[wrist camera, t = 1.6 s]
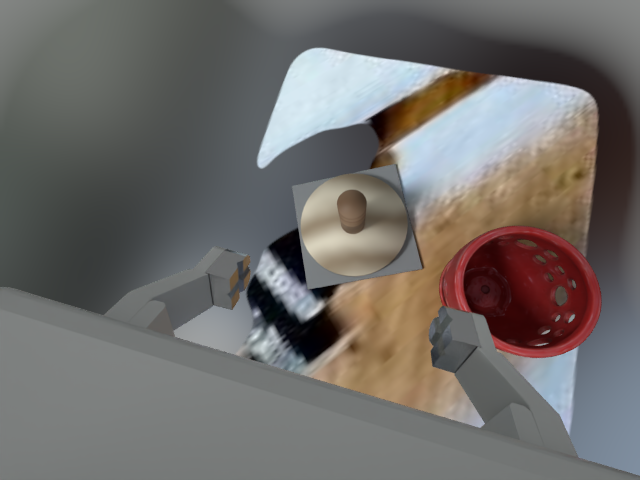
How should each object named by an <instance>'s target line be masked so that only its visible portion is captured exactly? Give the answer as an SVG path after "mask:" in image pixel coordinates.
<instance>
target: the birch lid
mask: <svg viewBox="0 0 640 480" xmlns="http://www.w3.org/2000/svg"><path fill="white" fill-rule="evenodd" d="M407 228H408V221H407V214H406V210H405V207H404V204H403V202H402V200H401V199H400V197H399V196H398V194H397V193H396V192H395V191H394V190H393V189H392V188H391V187H390V186H389V185H388V184H386V183H385V182H383V181H382V180H380V179H377V178H375V177H372V176H369V175H365V174H345V175H341V176H337V177H334V178H332V179H330V180H328V181H326V182H324V183H323V184H322V185H320V186H319V187H318V188H317V189H316V190H315V191H314V192H313V193H312V194H311V196H310V197H309V199H308V200H307V202H306V204H305V206H304V209H303V212H302V217H301V234H302V239H303V242H304V244H305V246H306V248H307V250H308V252H309V253H310V255H311V256H312V257H313V258H314V259H315V260H316V261H317V262H318V263H319V264H320V265H321V266H322V267H324V268H325V269H327V270H329V271H331V272H333V273H336V274H339V275H343V276H351V277H357V276H364V275H369V274H372V273H374V272H377V271H379V270H380V269H382V268H384V267H385V266H386V265H388V264H389V263H390V262H391V261H392V260H393V259H394V258H395V257H396V255H397V254H398V253H399V251H400V250H401V248H402V246H403V244H404V241H405V239H406V235H407Z"/></svg>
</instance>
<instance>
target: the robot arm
mask: <svg viewBox="0 0 640 480" xmlns="http://www.w3.org/2000/svg"><path fill="white" fill-rule="evenodd" d="M249 263H250V256H249V255H246V254H243V253H239V252H236V251H232V250H229V249H224V248H221V247H217V246H216V247H213V248H212V249H211V250H210V251H209V252H208V253H207V255H206V256H205V257H204V258H203V259H202V260H201V261H200V262H199V263H198V264H197V265H196V267H195V268H194V269H193V270H191V269H188V270H185V271H183V272H180V273H177V274H175V275H172V276H169V277H167V278H164V279H162V280H159V281H156V282H154V283H151V284H148V285H146V286H143V287H141V288H138V289H135V290H133V291H130V292H129V293H128V294H126V295H125V296H124V297H123V298H122V299H121V300H120V301H119V302H118V303H117V304H115V306H113V307H112V308H111V309H110V310H109V311H108V312H107V313H106V314H105V315H99V314H96V313H93V312H90V311H86V310H83V309H79V308H76V307H73V306H69V305H66V304H63V303H60V302H56V301H53V300H49V299H46V298H43V297H39V296H36V295H33V294H29V293H27V292H23V291H20V290H17V289H13V288H8V287H0V480H640V476H638V475H635V474H632V473H628V472H625V471H622V470H618V469H615V468H612V467H608V466H605V465H602V464H598V463H595V462H592V461H588V460H585V459H581V458H579V457H578V455H577V453H576V451H575V448H574V446H573V444H572V442H571V440H570V437H569V435H568V433H567V431H566V428H565V426H564V424H563V422H562V419H561V417H560V415H559V414H558V413H557V412H556V411H555V410H554V409H553V408H552V407H551V406H550V405H549V403H548V402H547V401H546V400H545V399H544V398H543V397H542V396H541V395H540V394H539V393H538V392H537V391H536V390H535V389H534V388H533V387H532V385H531V384H530V383H529V382H528V381H527V380H526V379H525V378H524V377H523V376H522V375H521V374H520V373H519V372H518V371H517V370H516V369H515V368H514V366H513V365H512V364H511V363H510V362H509V361H508V360H507V359H506V358H505V357H504V356H503V355H502V354H501V353H498V352H497V351H496V348H495V345H494V342H493V339H492V336H491V333H490V330H489V328H488V325H487V322H486V319H485V317H484V316H483V315H480V314H476V313H472V312H467V311H463V310H459V309H455V308H451V307H447V306H442V307H441V308H440V309H439V311H438V314H439V317H436V318H434V319H433V321H432V323H431V325H430V329H429V341H430V342H431V344H432V345H433V346H434V347H433V348H432V350H431V358H432V366H433V367H436V368H439V369H442V370H446V371H449V372H452V373H455V376H456V378H457V379H458V381H459V383H460V384H461V386H462V387H463V389H464V391H465V392H466V394H467V395H468V397H469V399H470V400H471V402H472V403H473V405H474V407H475V408H476V410H477V411H478V413H479V415H480V416H481V418H482V419H483V421H484V423H485V424H484V425H483V426H482V427H481V428H478V427H475V426H471V425H468V424H465V423H461V422H458V421H455V420H451V419H448V418H445V417H441V416H438V415H434V414H431V413H428V412H424V411H421V410H418V409H414V408H411V407H408V406H404V405H401V404H398V403H394V402H391V401H387V400H384V399H381V398H377V397H374V396H371V395H367V394H364V393H361V392H357V391H354V390H351V389H347V388H344V387H340V386H337V385H334V384H330V383H327V382H324V381H320V380H317V379H314V378H310V377H307V376H304V375H300V374H297V373H294V372H290V371H287V370H284V369H280V368H277V367H274V366H270V365H267V364H264V363H260V362H257V361H254V360H250V359H247V358H243V357H240V356H237V355H233V354H230V353H227V352H223V351H220V350H217V349H213V348H210V347H207V346H203V345H200V344H196V343H193V342H190V341H187V340H183V339H180V338H177V337H175V335H174V332H173V331H174V330H175V329H177V328H178V327H180V326H182V325H183V324H185V323H187V322H188V321H190V320H191V319H193V318H195V317H196V316H198V315H200V314H201V313H203V312H204V311H206V310H208V309H209V308H211V307H212V306H213V305H215V306H218V307H223V308H226V309H230V310H232V309H233V307H234V306H235V305H236V303H237V301H238V300H239V293H240V292H242V291H244V290H245V288H246V287H247V285H248V282H249V279H250V269H249V267H248V265H249Z"/></svg>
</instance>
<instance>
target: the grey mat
mask: <svg viewBox="0 0 640 480" xmlns="http://www.w3.org/2000/svg"><path fill="white" fill-rule="evenodd" d="M352 174H365V175H369V176H372V177H375V178H377V179H380V180H382V181H383V182H385V183H386V184H388V185H389V186H390V187H391V188H392V189H393V190H394V191H395V192H396V193H397V194H398V196H399V197H400V199H401V200H402V202H403V204H404V207H405V210H406V214H407V221H408V228H407V235H406V239H405V241H404V244H403V246H402V248H401V250H400V251H399V253H398V254H397V255H396V257H395V258H394V259H393V260H392V261H391V262H390V263H389V264H388V265H386V266H385V267H384V268H382V269H380V270H379V271H377V272H374V273H372V274H369V275H364V276H357V277H351V276H343V275H339V274H336V273H333V272H331V271H329V270H327V269H325V268H324V267H322V266H321V265H320V264H319V263H318V262H317V261H316V260H315V259H314V258H313V257H312V256H311V255H310V253H309V252H308V250H307V248H306V246H305V244H304V242H303V239H302V234H301V217H302V212H303V209H304V206H305V204H306V202H307V200H308V199H309V197H310V196H311V194H312V193H313V192H314V191H315V190H316V189H317V188H318V187H319V186H320V185H322V184H323V183H324V182H326V181H328V180H330V179H332V178H328V179H323V180H319V181H314V182H309V183H305V184H300V185H295V186H292V188H293V195H294V202H295V209H296V215H297V222H298V228H299V235H300V241H301V248H302V254H303V261H304V267H305V274H306V281H307V287H308V289H313V288H318V287H324V286H329V285H335V284H341V283H346V282H352V281H358V280H363V279H369V278H374V277H380V276H386V275H391V274H397V273H403V272H408V271H414V270H419V269H422V266H421V262H420V258H419V254H418V250H417V246H416V242H415V239H414V235H413V231H412V227H411V223H410V219H409V215H408V211H407V208H406V204H405V200H404V196H403V192H402V188H401V184H400V180H399V176H398V173H397V169H396V165H395V164H394V165H389V166H384V167H379V168H375V169H370V170H365V171H361V172H356V173H352ZM333 178H334V177H333Z"/></svg>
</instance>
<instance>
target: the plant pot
mask: <svg viewBox="0 0 640 480" xmlns="http://www.w3.org/2000/svg"><path fill="white" fill-rule="evenodd" d="M521 239H525V240H530V241H532V242H534V243H535V244H536V245H537V247H532V246H527V245H525V244H522V243H520V242H519V241H517V240H521ZM547 250H550V251H553V252H554V253H555V254H556V255H557V256H558V257H554V256H552V255H551V254H550V253H549V252H548V251H547ZM535 255H540V256H542V257H543V258H544V259H545V260H546V263H544V262H541V261H540V260H538V259H537V258H536V256H535ZM558 266H560V267H561V268H562V269H563V270H564V273H562V272H561V271H560V269H559V267H558ZM548 273H549V274H551V275H552V277H553V281H552V280H550V279H549V277H548ZM572 280H574V281H575V283H576V288H574V287H573V285H572ZM559 286H562V287H564V288H565V290H566V293H567V301H566V302H565V303H564V304H563V305H561V306H559V305H558V304H557V302H556V299H555V292H556V289H557V288H558V287H559ZM439 293H440V298H441V302H442V305H443V306H447V307H451V308H455V309H459V310H463V311H467V312H472V313H476V314H480V315H483V316H484V317H485V319H486V322H487V325H488V328H489V330H490V333H491V336H492V339H493V342H494V345H495V348H496V349H499V350H501V351H504V352H507V353H511V354H514V355H518V356H523V357H530V358H546V357H553V356H557V355H561V354H564V353H566V352H568V351H570V350H572V349H574V348H576V347H577V346H579V345H580V344H581V343H583V342H584V341H585V340H586V338H587V337H588V336H589V335H590V334H591V333H592V331H593V329H594V327H595V325H596V323H597V321H598V319H599V316H600V312H601V291H600V287H599V283H598V280H597V278H596V275H595V273H594V271H593V269H592V268H591V266H590V264H589V263H588V261H587V260H586V258H585V257H584V256H583V255H582V254H581V253H580V252H579V251H578V250H577V249H576V248H575V247H574V246H573V245H572V244H570V243H569V242H568V241H566V240H564V239H563V238H561V237H559V236H557V235H555V234H553V233H551V232H548V231H546V230H543V229H539V228H535V227H529V226H507V227H501V228H497V229H494V230H491V231H488V232H486V233H484V234H482V235H480V236H478V237H477V238H475V239H473V240H472V241H470V242H469V243H468V244H466V245H465V246H464V247H463V248H461V249H460V250H459V251H458V252H457V254H456V255H455V256H454V257H453V259H452V260H451V261H450V262H449V263H448V264H447V265H446V267H445V268H444V270H443V272H442V275H441V278H440V283H439ZM573 314H575V318H574V319H573V321H571V322H570V323H568V321H569V318H570V317H571V315H573ZM558 315H560V319H559V320H558V321H557V322H555V319H556V317H557V316H558ZM546 330H550V332H549V333H547V334H544V335H541V334H542V333H543V332H544V331H546ZM561 334H562V335H561ZM543 343H549V344H546V345H542V346H534V345H538V344H543Z"/></svg>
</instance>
